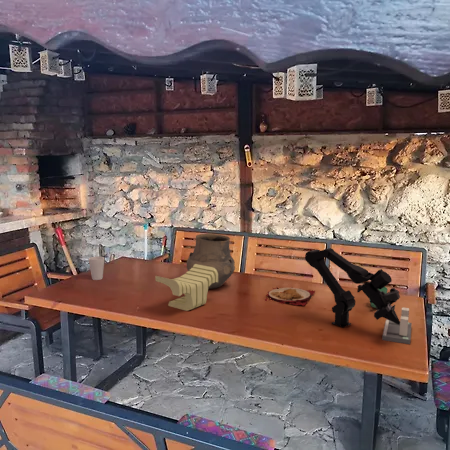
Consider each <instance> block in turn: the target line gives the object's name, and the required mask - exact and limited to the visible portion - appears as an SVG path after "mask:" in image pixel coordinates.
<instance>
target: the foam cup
mask: <svg viewBox="0 0 450 450" xmlns="http://www.w3.org/2000/svg"><path fill="white" fill-rule="evenodd" d="M88 264H89V269H90V273H91V279H92V281H93V280H94V281H99V280H102V279H103V277H104V268H105V257H104V256H99V255H97V256H91V257H89V258H88Z"/></svg>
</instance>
